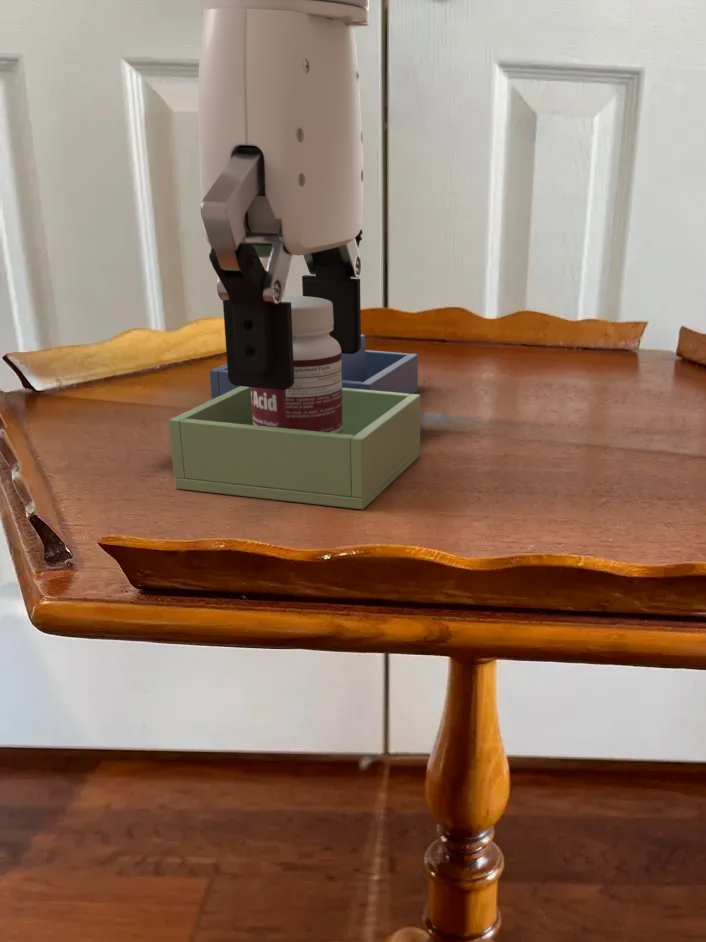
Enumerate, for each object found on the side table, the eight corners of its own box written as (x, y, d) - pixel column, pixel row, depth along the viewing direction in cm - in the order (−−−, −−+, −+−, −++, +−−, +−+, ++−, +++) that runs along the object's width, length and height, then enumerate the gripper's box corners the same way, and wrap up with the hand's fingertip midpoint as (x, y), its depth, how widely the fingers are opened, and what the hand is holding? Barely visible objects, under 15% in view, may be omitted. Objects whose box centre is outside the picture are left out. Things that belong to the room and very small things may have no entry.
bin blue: (213, 429, 64) (209, 370, 62) (279, 394, 72) (276, 342, 71) (370, 444, 62) (369, 384, 60) (417, 407, 71) (418, 354, 69)
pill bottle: (244, 453, 57) (233, 295, 53) (326, 445, 59) (321, 293, 55) (269, 477, 53) (260, 309, 49) (356, 468, 55) (353, 306, 51)
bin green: (174, 489, 53) (168, 419, 51) (257, 439, 62) (253, 379, 60) (363, 510, 51) (362, 438, 49) (420, 456, 60) (420, 394, 58)
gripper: (283, 6, 55) (296, 335, 62) (105, -49, 39) (151, 396, 47) (418, 8, 53) (415, 345, 61) (288, -48, 38) (305, 411, 46)
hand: (300, 367), depth 54 cm, fingers open, 9 cm apart
